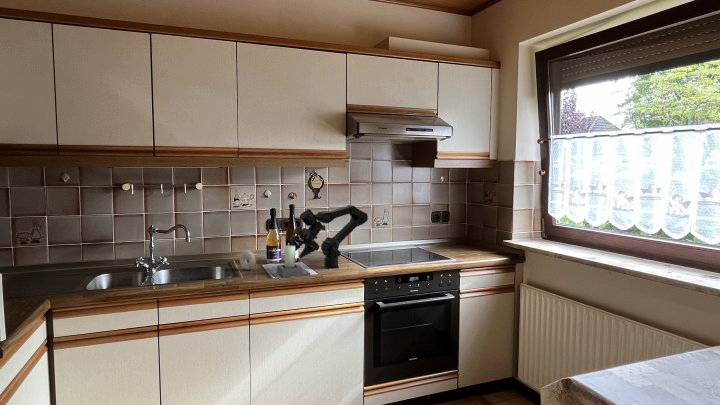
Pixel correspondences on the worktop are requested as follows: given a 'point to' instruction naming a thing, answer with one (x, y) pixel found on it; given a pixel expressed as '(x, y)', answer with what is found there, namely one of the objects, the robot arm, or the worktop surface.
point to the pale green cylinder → (289, 256)
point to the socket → (291, 271)
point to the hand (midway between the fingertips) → (294, 256)
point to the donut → (244, 263)
